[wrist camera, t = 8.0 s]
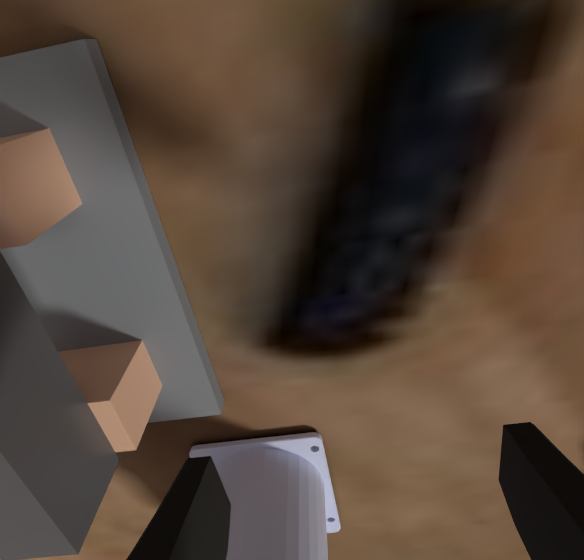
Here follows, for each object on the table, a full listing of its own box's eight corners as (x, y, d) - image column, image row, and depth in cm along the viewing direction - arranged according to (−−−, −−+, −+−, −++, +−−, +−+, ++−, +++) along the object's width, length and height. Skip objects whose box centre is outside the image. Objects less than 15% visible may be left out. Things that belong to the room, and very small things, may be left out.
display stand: (224, 400, 24) (206, 480, 20) (59, 420, 25) (8, 500, 21) (96, 39, 15) (13, 37, 11) (-147, 93, 16) (-310, 111, 12)
